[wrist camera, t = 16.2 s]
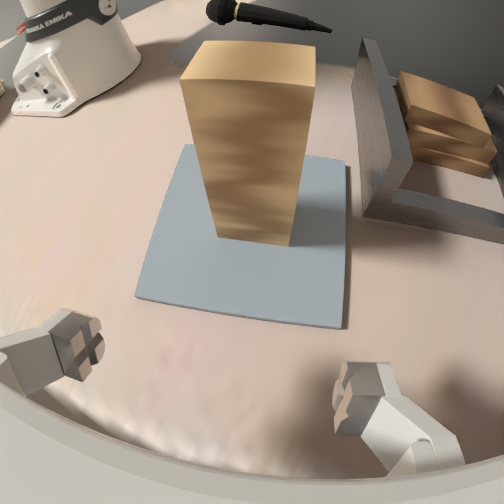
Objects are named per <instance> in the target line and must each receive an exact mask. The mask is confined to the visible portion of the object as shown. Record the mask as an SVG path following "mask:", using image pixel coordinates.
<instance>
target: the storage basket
mask: <svg viewBox="0 0 504 504" xmlns="http://www.w3.org/2000/svg"><path fill="white" fill-rule="evenodd" d="M4 91H5V89H4V87H3V85H2V82H1V80H0V96H1V95H2V94H3V93H4Z"/></svg>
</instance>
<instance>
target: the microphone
mask: <svg viewBox="0 0 504 504" xmlns="http://www.w3.org/2000/svg"><path fill="white" fill-rule="evenodd" d="M206 14H207V16H208V18H209V19H210V20H212V21H214V22H217V23H218V24H219V25H225V24H226V23H229V22H231V21H233V20H234V19H236V20H237V21H242V22H252V24H256V25H262V24H268V25H275V26H281V27H288V28H293V29H299V30H304V31H305V30H310V31H311V30H315V31H321V32H327V33H331V32H332V29H329V28H327V27H324V26H322V25H320V24H317V23H314V22H313V21H311V20H308V18H305V17H301V16H298V15H295V14H291V13H287V12H283V11H279V10H275V9H271V8H267V7H262V6H258V5H253V4H248V3H242V2H241V3H239V4H237V2H236V1H235V0H211V1H210V2H209V3H208V4H207V7H206Z"/></svg>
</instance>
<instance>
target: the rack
mask: <svg viewBox="0 0 504 504" xmlns="http://www.w3.org/2000/svg"><path fill="white" fill-rule="evenodd" d="M396 83H397V80H395V79H392V78H390V76H389V73H388V70H387V67H386V65H385V62H384V59H383V56H382V54H381V51H380V49H379V46H378V44H377V41H376V40H372V39H368V38H364V37H362V42H361V46H360V51H359V55H358V60H357V64H356V69H355V73H354V78H353V82H352V86H351V89H352V96H353V103H354V111H355V120H356V129H357V139H358V150H359V162H360V176H361V194H362V216H363V217H369V218H375V219H381V220H387V221H392V222H398V223H404V224H409V225H415V226H420V227H425V228H430V229H436V230H441V231H446V232H451V233H455V234H460V235H465V236H470V237H474V238H479V239H484V240H488V241H492V242H497V243H501V244H504V214H501V213H498V212H495V211H491V210H488V209H484V208H481V207H477V206H473V205H470V204H466V203H462V202H458V201H454V200H450V199H446V198H442V197H438V196H434V195H429V194H425V193H421V192H416V191H412V190H407V189H402V188H399V187H400V185H401V183H402V182H403V180H404V178H405V176H406V175H407V173H408V171H409V169H410V168H411V166H412V164H413V158H412V154H411V149H410V145H409V141H408V137H407V133H406V129H405V125H404V121H403V118H402V114H401V111H400V107H399V104H398V101H397V97H396V94H395V91H394V88H396ZM480 110H481V112H482V114H483V116H484V118H485V121H486V123H487V125H488V127H489V129H490V132H491V134H492V136H491V137H490V138H491V140H492V142H493V144H494V146H495V148H496V150H497V153H496V155H495V156H494V157H493V159H492V160H491V162H492V164H493V167H494V170H495V173H496V175H497V178H498V181H499V184H500V187H501V190H502V194H503V197H504V88H503V87H501V86H499V85H496V86H495V88H494V90H493V92H492V94H491V95H490V97H489V99H488V101H487V103H486V104H485V106H484V108H483V109H480Z"/></svg>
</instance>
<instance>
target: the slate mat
mask: <svg viewBox="0 0 504 504" xmlns="http://www.w3.org/2000/svg"><path fill="white" fill-rule="evenodd" d="M345 248H346V177H345V161H342V160H336V159H329V158H323V157H316V156H309V155H305V156H304V163H303V168H302V174H301V180H300V186H299V192H298V198H297V203H296V209H295V214H294V220H293V225H292V231H291V236H290V241H289V247H287V246H279V245H272V244H264V243H257V242H249V241H241V240H233V239H226V238H218V237H217V233H216V229H215V225H214V221H213V218H212V214H211V210H210V206H209V202H208V198H207V194H206V190H205V186H204V182H203V178H202V174H201V170H200V165H199V161H198V157H197V153H196V149H195V145H192V144H185V146H184V148H183V151H182V153H181V156H180V158H179V161H178V163H177V166H176V168H175V171H174V174H173V176H172V179H171V182H170V185H169V187H168V190H167V193H166V196H165V198H164V201H163V204H162V207H161V210H160V213H159V216H158V219H157V222H156V225H155V228H154V231H153V234H152V237H151V240H150V243H149V247H148V250H147V253H146V256H145V260H144V263H143V266H142V270H141V273H140V277H139V280H138V284H137V288H136V291H135V295H134V296H135V297H136V298H138V299H143V300H148V301H152V302H158V303H163V304H168V305H173V306H178V307H184V308H189V309H195V310H201V311H206V312H212V313H218V314H225V315H231V316H237V317H244V318H250V319H257V320H264V321H272V322H279V323H287V324H295V325H303V326H311V327H320V328H329V329H340V328H341V324H342V310H343V295H344V276H345Z"/></svg>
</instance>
